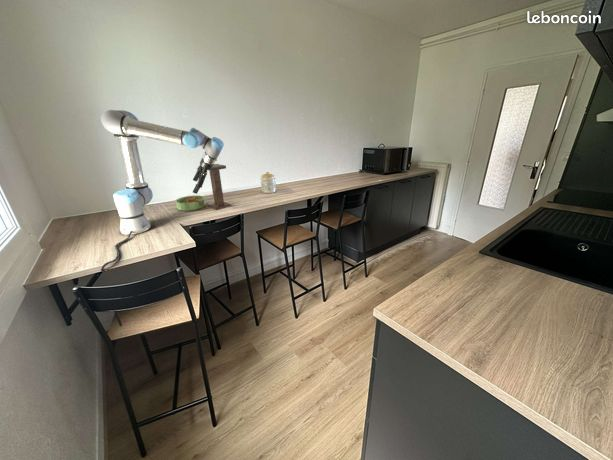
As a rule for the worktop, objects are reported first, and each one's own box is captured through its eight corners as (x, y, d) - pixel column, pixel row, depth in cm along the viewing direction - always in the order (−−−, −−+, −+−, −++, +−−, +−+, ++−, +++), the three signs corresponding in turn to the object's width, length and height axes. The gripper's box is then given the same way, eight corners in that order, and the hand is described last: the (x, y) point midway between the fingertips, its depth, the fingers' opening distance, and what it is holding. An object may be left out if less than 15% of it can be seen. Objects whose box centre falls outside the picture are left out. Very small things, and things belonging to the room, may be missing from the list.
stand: (231, 205, 189) (225, 165, 177) (216, 209, 181) (210, 167, 169) (222, 202, 197) (216, 163, 184) (208, 206, 188) (201, 166, 176)
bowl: (207, 208, 184) (206, 200, 182) (178, 213, 176) (176, 204, 173) (203, 201, 200) (202, 194, 197) (176, 205, 191) (174, 197, 189)
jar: (273, 189, 234) (272, 170, 227) (278, 192, 223) (277, 172, 216) (259, 190, 229) (258, 171, 222) (263, 194, 218) (262, 173, 211)
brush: (202, 199, 179) (200, 194, 179) (194, 201, 175) (192, 195, 175) (193, 204, 192) (191, 199, 191) (185, 206, 187) (183, 201, 187)
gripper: (214, 174, 149) (200, 200, 159) (213, 153, 165) (200, 178, 175) (202, 169, 144) (188, 196, 154) (201, 148, 161) (189, 173, 170)
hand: (194, 186), depth 165 cm, fingers open, 13 cm apart
